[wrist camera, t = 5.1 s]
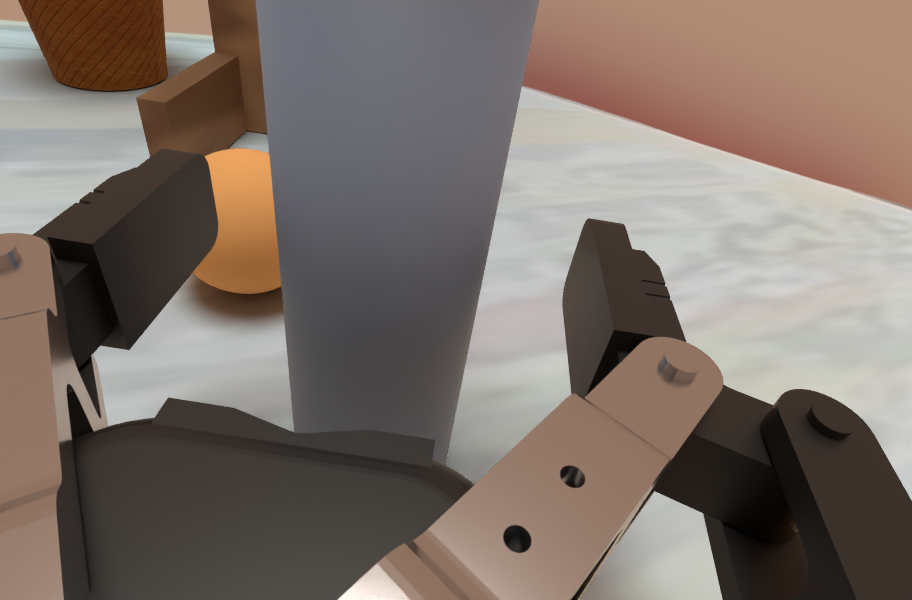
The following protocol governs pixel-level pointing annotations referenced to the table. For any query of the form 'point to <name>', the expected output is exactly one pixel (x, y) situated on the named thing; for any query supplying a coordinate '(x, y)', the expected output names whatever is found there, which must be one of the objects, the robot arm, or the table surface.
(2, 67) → the table surface
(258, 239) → the ball
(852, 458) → the robot arm
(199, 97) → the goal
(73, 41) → the disposable coffee cup
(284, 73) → the player figure
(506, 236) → the table surface
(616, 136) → the table surface
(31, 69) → the table surface
